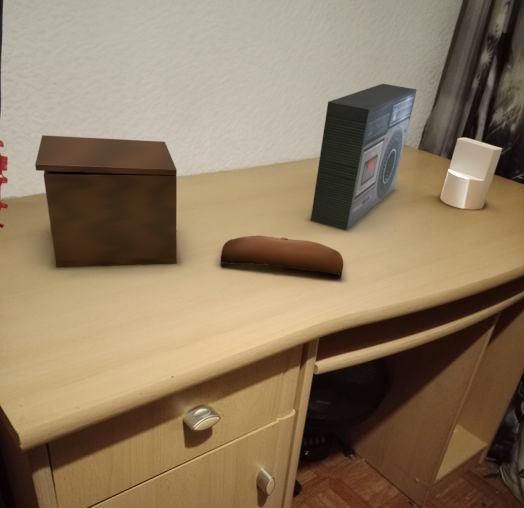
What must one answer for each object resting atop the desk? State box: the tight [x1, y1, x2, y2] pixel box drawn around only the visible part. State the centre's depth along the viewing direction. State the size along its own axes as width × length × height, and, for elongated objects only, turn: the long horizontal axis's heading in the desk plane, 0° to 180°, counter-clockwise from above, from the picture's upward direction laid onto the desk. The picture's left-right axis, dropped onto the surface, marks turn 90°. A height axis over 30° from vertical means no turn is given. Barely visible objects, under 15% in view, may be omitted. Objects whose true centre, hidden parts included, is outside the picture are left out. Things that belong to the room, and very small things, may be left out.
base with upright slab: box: [440, 137, 503, 211], centre depth 112 cm, size 9×9×12 cm
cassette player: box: [310, 83, 418, 231], centre depth 102 cm, size 29×7×20 cm, turn 152°
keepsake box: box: [43, 171, 178, 268], centre depth 79 cm, size 17×14×13 cm
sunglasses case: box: [220, 235, 344, 278], centre depth 81 cm, size 18×7×7 cm, turn 86°
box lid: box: [34, 134, 178, 176], centre depth 75 cm, size 17×14×1 cm
